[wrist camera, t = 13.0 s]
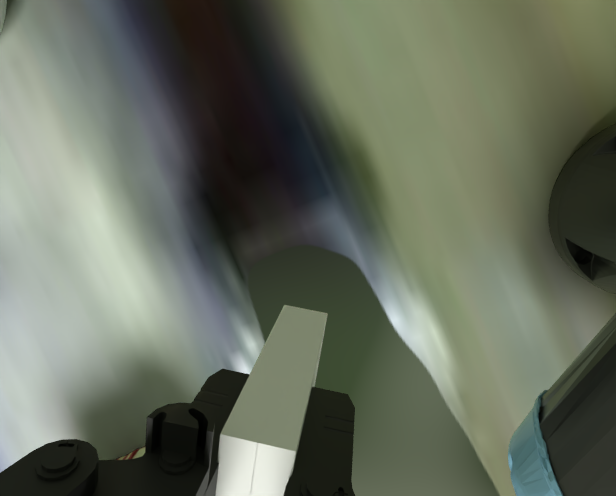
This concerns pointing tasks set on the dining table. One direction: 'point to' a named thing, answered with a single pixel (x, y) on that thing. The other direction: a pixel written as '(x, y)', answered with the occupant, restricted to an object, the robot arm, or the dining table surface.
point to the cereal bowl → (2, 13)
